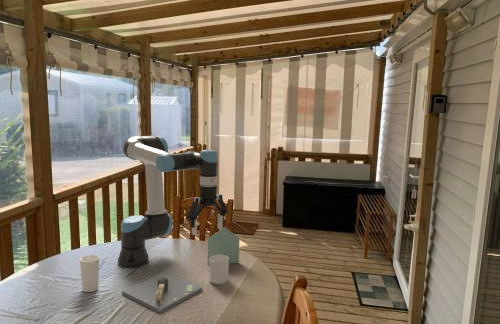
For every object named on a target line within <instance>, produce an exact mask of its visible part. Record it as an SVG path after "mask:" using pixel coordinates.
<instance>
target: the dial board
mask: <svg viewBox="0 0 500 324" xmlns="http://www.w3.org/2000/svg"><path fill="white" fill-rule="evenodd" d="M160 278H167V279H168V289H166V290H164V293H163V296H162V300H161V301H156V293H157V290H158V279H160ZM201 291H203V287H202V286H200V285H198V284H195V283H192V282H190V281H188V280H186V279H183V278H181V277H178V276H176V275H173V274H171V273H168V272H166V271H165V272H161V273H160V274H158V275H155V276H153V277H151V278H149V279H146V280H144V281H142V282H140V283H136V284H135V285H132V286H129V287H127V288H125V289H123V290H122V291H121V294H122V295H123V296H125V297H127V298H128V299H131V300H133V301H135V302H137V303H138V304H141V305H143V306H145V307H146V308H148V309H150V310H153V311H154V312H157V313H158V314H162V313H163V312H165V311H167V310H168V309H172V308H173V307H174V306H176V305H178V304H179V303H182V302H183V301H185V300H188V299H189V298H190V297H192V296H195V295H196V294H198V293H200V292H201Z"/></svg>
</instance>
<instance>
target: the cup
mask: <svg viewBox="0 0 500 324" xmlns="http://www.w3.org/2000/svg"><path fill="white" fill-rule="evenodd" d="M79 264H80V275H81V286H82V292H85V293H92V292H94V291H97V290H98V289H99V279H100V278H99V276H100V274H99V271H100V256H99V255H97V254H87V255H84V256H81V257H80V258H79Z"/></svg>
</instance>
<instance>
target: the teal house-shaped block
mask: <svg viewBox="0 0 500 324" xmlns="http://www.w3.org/2000/svg"><path fill="white" fill-rule="evenodd" d="M214 255H225V256H227V257H229V264H240V236H238V235H236V234H235V233H233V231H230V230H229V229H228V228H227V227H226V226H222V230H220V229H219V230H218V231H217V232H215V233H214V234H212V235H211V236H210V237H208V239H207V265H210V257H211V256H214Z"/></svg>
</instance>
